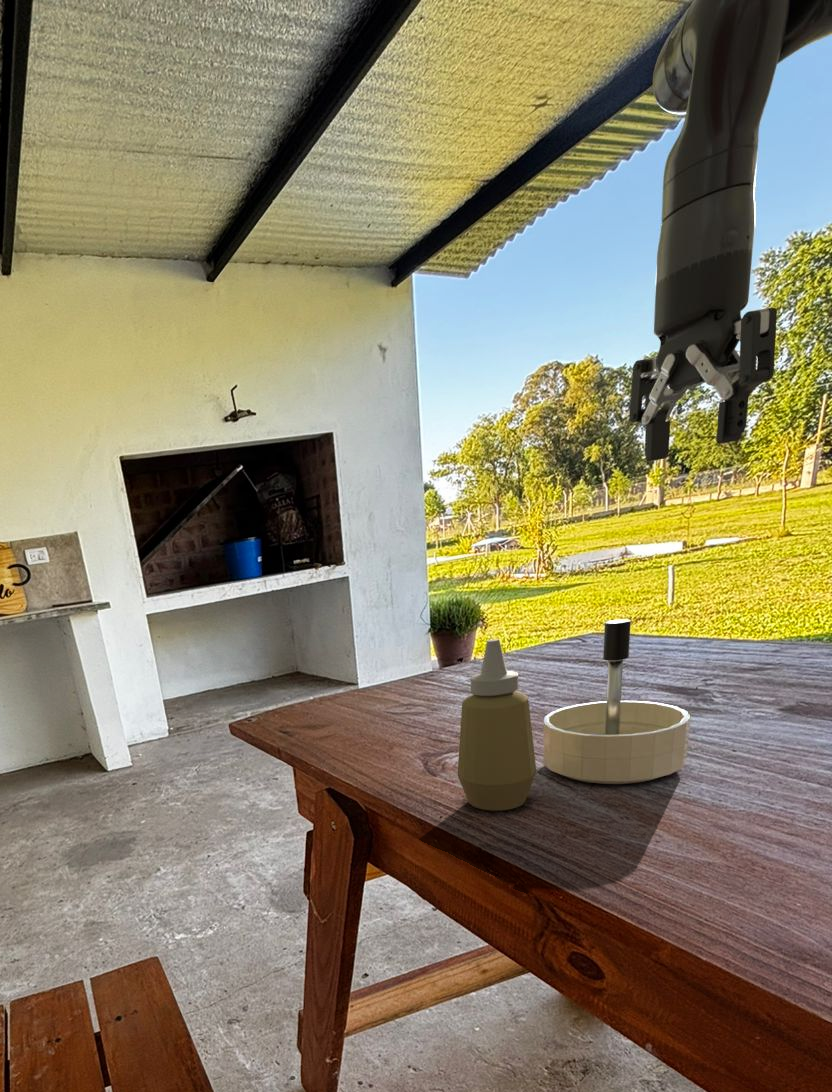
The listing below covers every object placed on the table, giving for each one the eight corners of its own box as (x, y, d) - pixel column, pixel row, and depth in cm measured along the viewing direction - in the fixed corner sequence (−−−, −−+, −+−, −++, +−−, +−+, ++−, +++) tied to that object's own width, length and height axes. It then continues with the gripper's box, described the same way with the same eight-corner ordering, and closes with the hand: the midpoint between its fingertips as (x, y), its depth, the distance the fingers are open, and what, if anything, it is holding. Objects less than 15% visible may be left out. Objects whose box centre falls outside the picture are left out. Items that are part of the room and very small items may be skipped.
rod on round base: (613, 749, 75) (620, 615, 69) (651, 761, 70) (661, 617, 64) (572, 758, 74) (576, 624, 69) (607, 771, 69) (614, 627, 63)
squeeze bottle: (540, 789, 70) (541, 629, 63) (531, 818, 63) (532, 644, 57) (466, 787, 74) (460, 636, 68) (451, 814, 68) (443, 651, 61)
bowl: (618, 739, 80) (620, 694, 78) (718, 769, 67) (724, 716, 64) (518, 763, 78) (518, 717, 76) (601, 798, 65) (603, 745, 63)
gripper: (814, 219, 53) (790, 429, 59) (673, 293, 66) (664, 459, 72) (739, 231, 52) (722, 443, 58) (611, 304, 66) (608, 471, 71)
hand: (690, 451), depth 65 cm, fingers open, 8 cm apart
